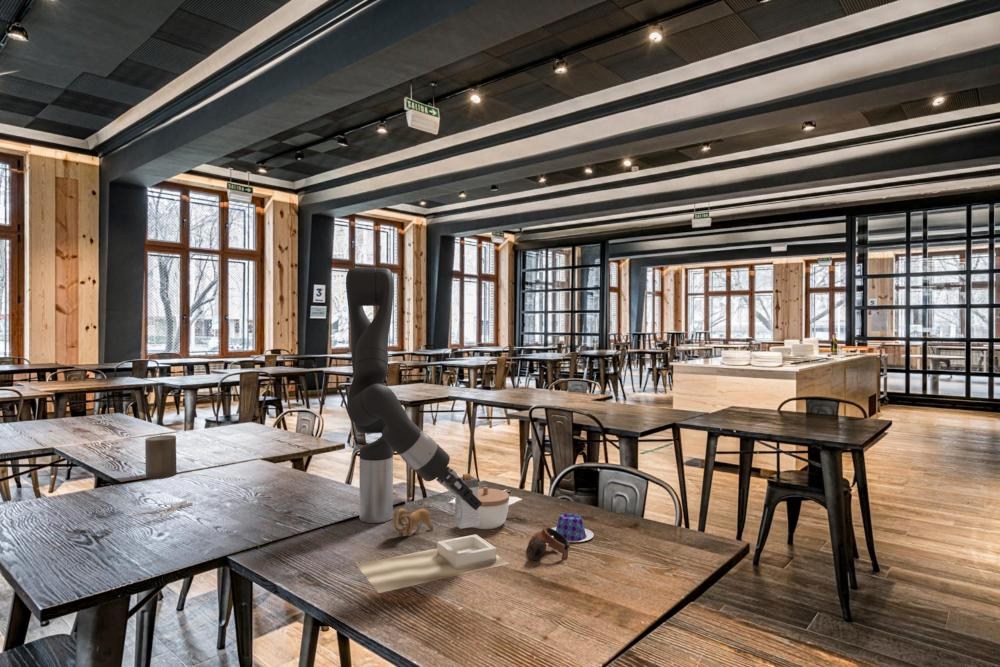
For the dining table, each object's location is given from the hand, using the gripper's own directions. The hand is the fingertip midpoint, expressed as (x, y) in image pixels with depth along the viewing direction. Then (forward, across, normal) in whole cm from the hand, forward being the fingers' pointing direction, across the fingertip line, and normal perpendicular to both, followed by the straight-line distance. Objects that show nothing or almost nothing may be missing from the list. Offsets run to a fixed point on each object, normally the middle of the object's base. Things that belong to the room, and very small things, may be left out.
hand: (474, 503), depth 135 cm
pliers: (-38, +70, +58) cm, 98 cm away
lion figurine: (+4, +21, +16) cm, 26 cm away
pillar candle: (-42, +118, +61) cm, 139 cm away
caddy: (+7, 0, +10) cm, 12 cm away
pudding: (+31, +7, -11) cm, 34 cm away
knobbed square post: (+2, 0, +5) cm, 5 cm away
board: (+3, 0, +17) cm, 17 cm away
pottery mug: (+21, -5, -1) cm, 21 cm away
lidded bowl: (+18, +20, +2) cm, 27 cm away
